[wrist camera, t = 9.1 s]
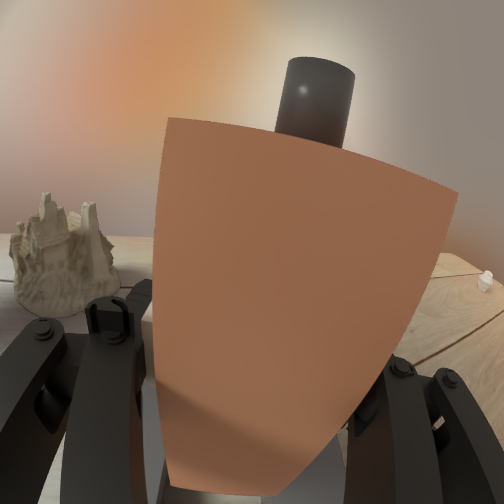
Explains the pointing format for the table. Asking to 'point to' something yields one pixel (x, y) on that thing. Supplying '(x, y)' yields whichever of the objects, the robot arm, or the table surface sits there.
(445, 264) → the table surface
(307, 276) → the plug
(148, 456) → the socket
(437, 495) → the robot arm
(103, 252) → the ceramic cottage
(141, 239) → the table surface
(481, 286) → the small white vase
